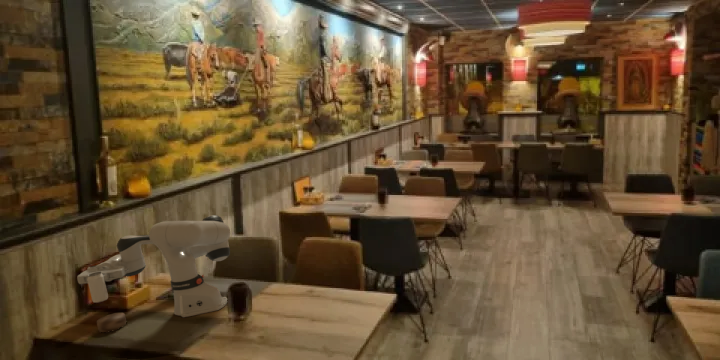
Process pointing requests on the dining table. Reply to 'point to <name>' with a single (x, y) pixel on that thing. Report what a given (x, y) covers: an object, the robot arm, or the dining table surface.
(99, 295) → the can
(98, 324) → the brown rounded flat block
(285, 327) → the dining table surface
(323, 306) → the dining table surface
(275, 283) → the dining table surface
